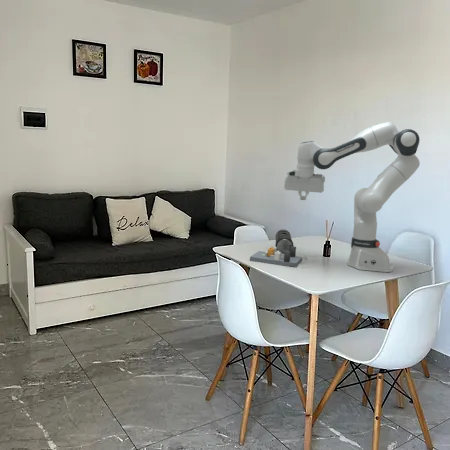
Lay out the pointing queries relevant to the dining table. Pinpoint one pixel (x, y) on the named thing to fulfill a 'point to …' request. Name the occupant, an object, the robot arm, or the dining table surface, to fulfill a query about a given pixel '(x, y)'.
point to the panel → (271, 260)
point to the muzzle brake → (283, 241)
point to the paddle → (271, 251)
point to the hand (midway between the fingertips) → (303, 199)
